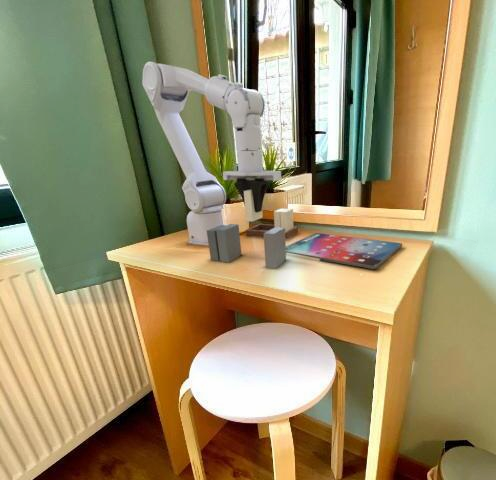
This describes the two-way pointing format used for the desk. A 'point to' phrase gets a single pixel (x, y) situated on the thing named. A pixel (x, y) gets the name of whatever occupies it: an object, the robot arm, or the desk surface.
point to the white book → (251, 207)
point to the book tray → (263, 228)
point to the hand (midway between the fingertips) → (253, 211)
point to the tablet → (345, 249)
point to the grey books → (229, 248)
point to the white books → (284, 219)
